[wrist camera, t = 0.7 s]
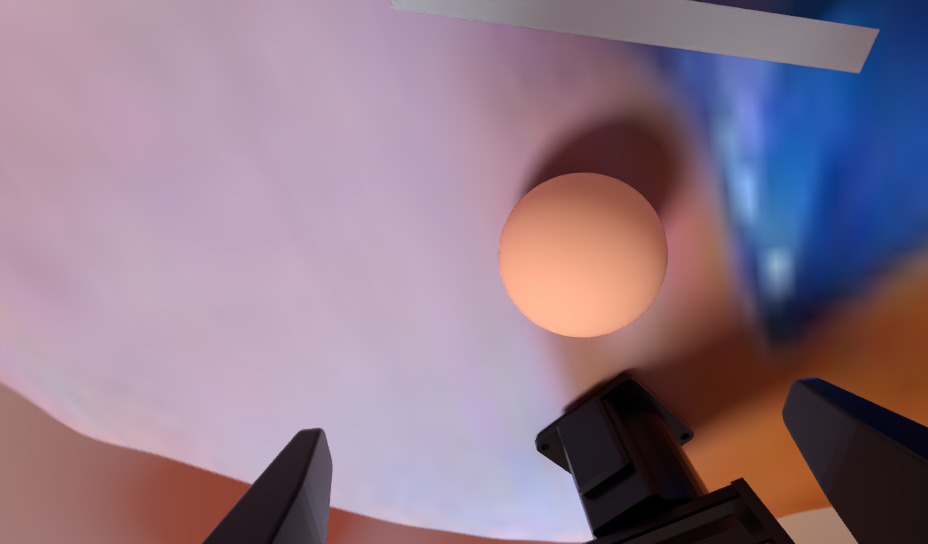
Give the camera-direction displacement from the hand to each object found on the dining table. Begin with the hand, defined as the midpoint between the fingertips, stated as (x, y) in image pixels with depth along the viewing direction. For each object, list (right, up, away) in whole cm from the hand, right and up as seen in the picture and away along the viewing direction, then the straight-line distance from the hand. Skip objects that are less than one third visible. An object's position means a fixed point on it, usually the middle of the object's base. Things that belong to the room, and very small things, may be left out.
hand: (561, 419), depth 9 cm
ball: (+2, +5, +11) cm, 13 cm away
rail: (+3, +12, +8) cm, 14 cm away
